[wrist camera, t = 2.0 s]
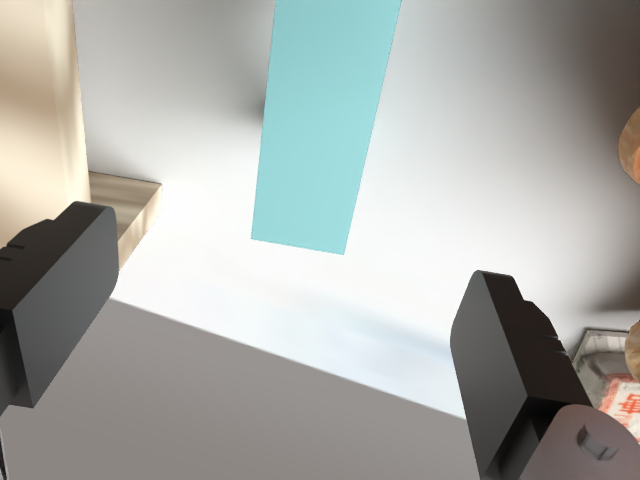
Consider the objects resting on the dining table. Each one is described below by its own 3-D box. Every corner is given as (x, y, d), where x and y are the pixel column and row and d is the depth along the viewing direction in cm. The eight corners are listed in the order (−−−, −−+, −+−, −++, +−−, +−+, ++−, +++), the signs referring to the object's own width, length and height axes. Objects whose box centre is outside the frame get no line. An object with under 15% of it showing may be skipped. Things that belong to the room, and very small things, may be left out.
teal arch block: (310, -43, 26) (278, -24, 16) (384, -29, 27) (401, -1, 16) (286, 135, 32) (251, 239, 21) (348, 146, 32) (343, 255, 21)
